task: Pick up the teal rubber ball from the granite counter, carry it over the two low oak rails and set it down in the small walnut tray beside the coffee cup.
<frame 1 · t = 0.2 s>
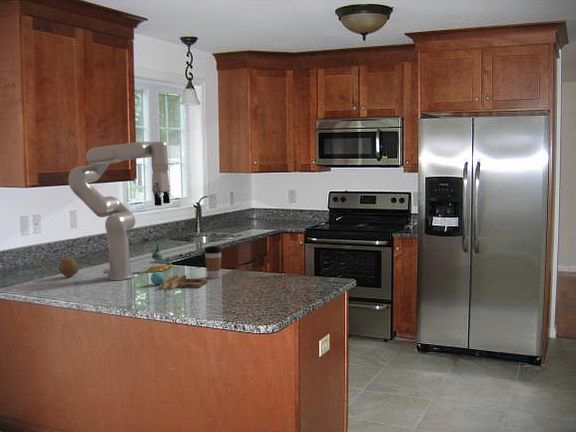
hand: (162, 204, 314), 36 cm above the worktop, fingers open, 9 cm apart
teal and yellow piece: (160, 270, 341), on the worktop
rail 2: (178, 285, 305), on the worktop
ball: (157, 278, 307), point 3 cm above the worktop
natural sponge: (68, 277, 329), on the worktop
rail 1: (169, 284, 306), on the worktop
coffee cup: (214, 277, 320), on the worktop
tray: (193, 285, 305), on the worktop
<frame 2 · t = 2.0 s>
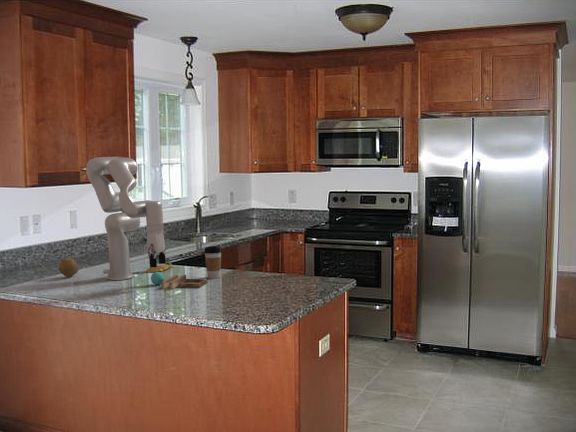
hand: (158, 265, 306), 9 cm above the worktop, fingers open, 9 cm apart
nothing on the worktop moved.
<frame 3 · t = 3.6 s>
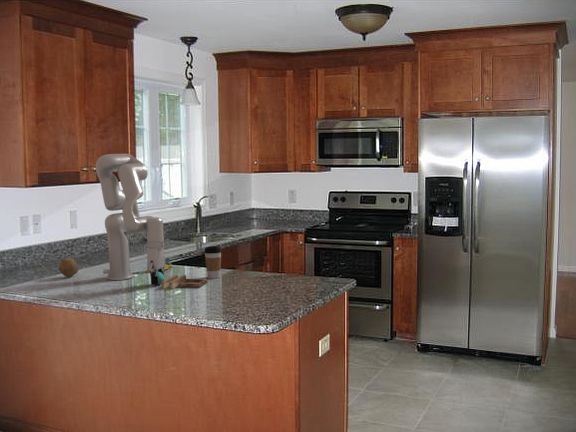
hand: (157, 282, 307), 1 cm above the worktop, fingers closed on ball, 6 cm apart
ball: (157, 278, 307), point 3 cm above the worktop, touching gripper
everything else where it was.
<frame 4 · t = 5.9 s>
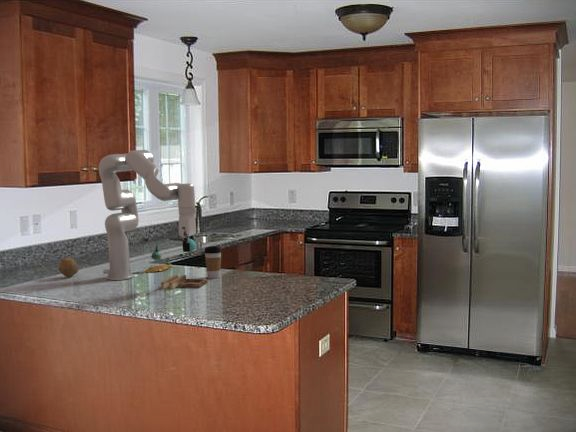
hand: (189, 250, 303), 16 cm above the worktop, fingers closed on ball, 5 cm apart
ball: (189, 245, 302), point 18 cm above the worktop, touching gripper
everything else where it was.
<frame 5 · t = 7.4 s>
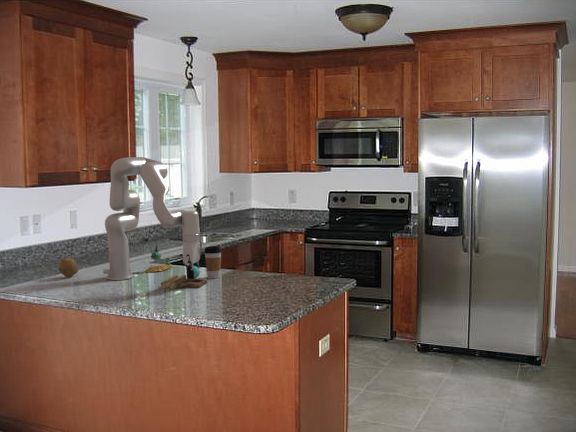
hand: (193, 276, 304), 4 cm above the worktop, fingers closed on ball, 5 cm apart
ball: (193, 272, 304), point 6 cm above the worktop, touching gripper
everything else where it was.
when the fingers open (3 cm above the worktop, at t = 8.3 s): ball drops 2 cm, resting on tray.
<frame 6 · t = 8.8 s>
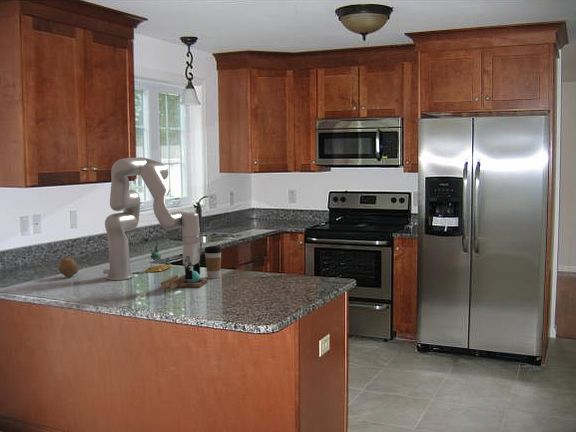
hand: (192, 276, 304), 4 cm above the worktop, fingers open, 9 cm apart
ball: (193, 277, 304), point 4 cm above the worktop, touching tray
everything else where it was.
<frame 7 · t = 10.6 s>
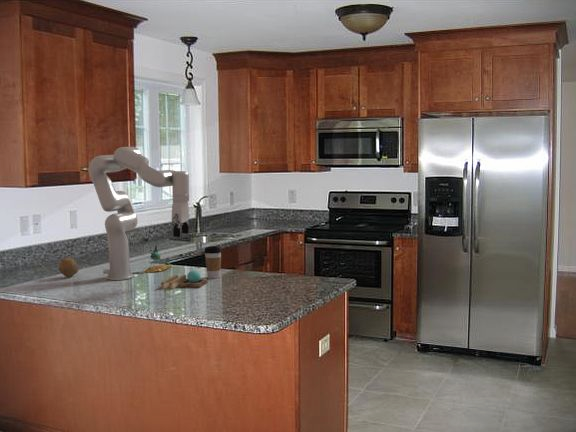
hand: (181, 235, 308), 22 cm above the worktop, fingers open, 9 cm apart
ball: (193, 276, 305), point 4 cm above the worktop, tilted 23°, touching tray
everything else where it was.
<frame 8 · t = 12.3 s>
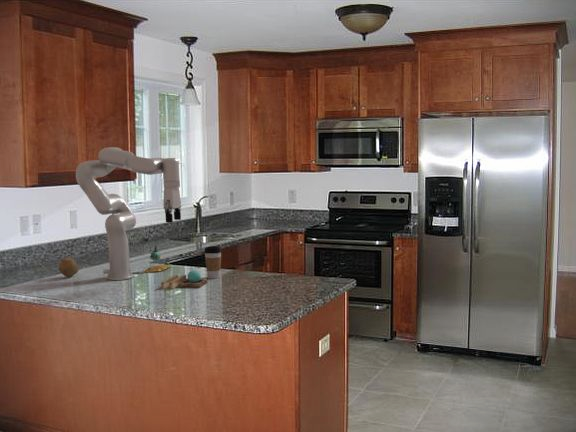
hand: (173, 221, 313), 28 cm above the worktop, fingers open, 9 cm apart
ball: (194, 276, 306), point 4 cm above the worktop, tilted 29°, touching tray
everything else where it was.
at the end: ball 1.5 cm from the tray (horizontally); ball point 3.6 cm above the worktop; the gripper is holding nothing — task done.
